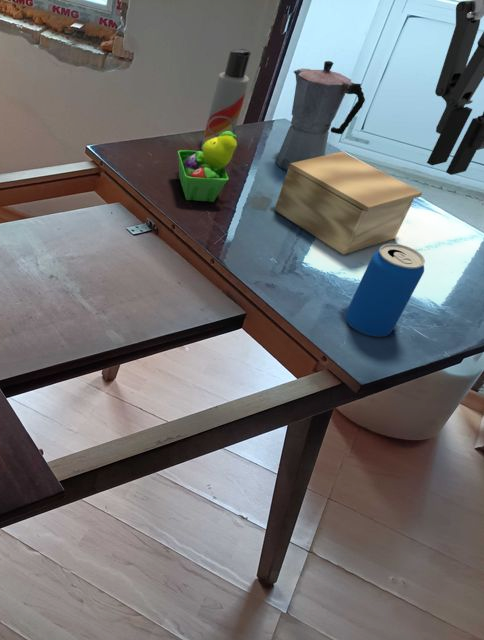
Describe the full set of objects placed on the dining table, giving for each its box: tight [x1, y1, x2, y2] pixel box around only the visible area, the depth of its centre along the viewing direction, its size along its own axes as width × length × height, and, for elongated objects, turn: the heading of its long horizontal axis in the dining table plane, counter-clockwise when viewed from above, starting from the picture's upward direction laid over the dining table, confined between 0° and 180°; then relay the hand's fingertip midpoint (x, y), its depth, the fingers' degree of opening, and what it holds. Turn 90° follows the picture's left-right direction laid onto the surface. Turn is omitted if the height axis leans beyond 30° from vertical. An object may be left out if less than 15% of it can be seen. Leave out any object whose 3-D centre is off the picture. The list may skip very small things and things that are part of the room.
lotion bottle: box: [200, 48, 252, 152], centre depth 133 cm, size 6×6×20 cm
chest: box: [274, 168, 415, 255], centre depth 116 cm, size 16×13×9 cm
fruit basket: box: [177, 131, 238, 203], centre depth 123 cm, size 11×9×11 cm
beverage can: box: [344, 243, 426, 337], centre depth 94 cm, size 6×6×12 cm
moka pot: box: [275, 60, 366, 171], centre depth 130 cm, size 10×15×20 cm, turn 40°
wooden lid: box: [289, 151, 423, 212], centre depth 112 cm, size 16×13×1 cm
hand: (446, 166), depth 82 cm, fingers open, 2 cm apart
